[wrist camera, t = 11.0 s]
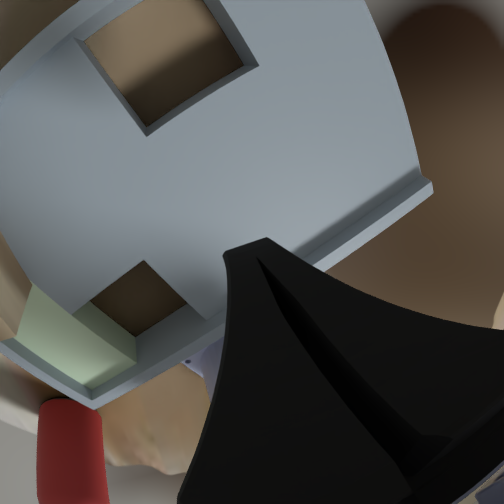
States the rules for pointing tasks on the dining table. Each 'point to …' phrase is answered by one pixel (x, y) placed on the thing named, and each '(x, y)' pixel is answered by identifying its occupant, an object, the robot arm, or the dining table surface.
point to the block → (11, 291)
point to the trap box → (190, 178)
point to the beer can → (70, 454)
